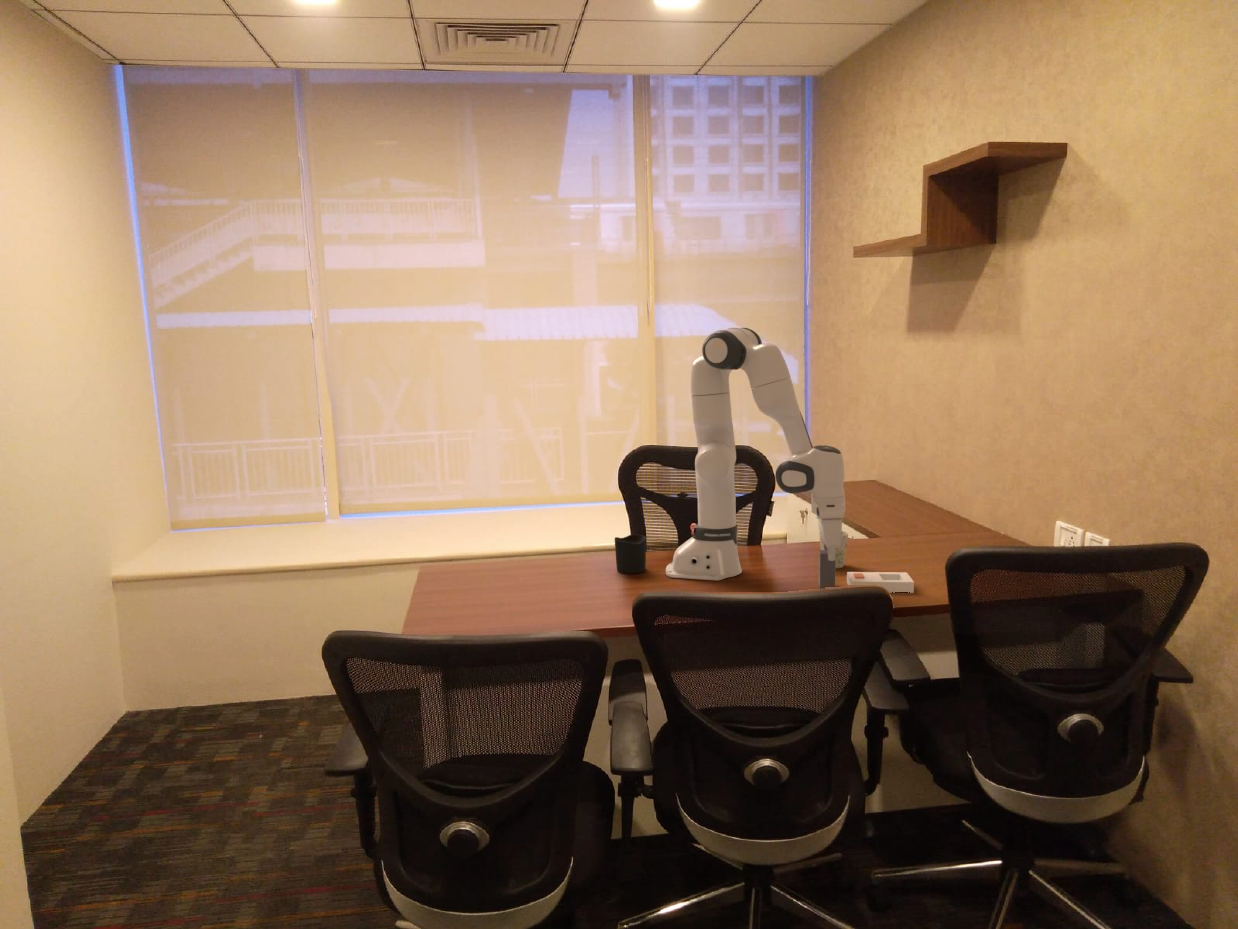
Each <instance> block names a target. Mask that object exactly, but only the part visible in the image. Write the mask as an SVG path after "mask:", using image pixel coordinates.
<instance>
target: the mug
mask: <svg viewBox="0 0 1238 929" xmlns="http://www.w3.org/2000/svg"><path fill="white" fill-rule="evenodd" d="M818 536H819V538H818V539H819V546H820V550H824V543H823V538H822V536H821V534H820V532H818ZM848 536H849V533H848V532H846V531H845V530H842V533H841V543H840V547H836V552H835V569H841V568H843V567H844V566H845V559H846V552H847V546H848V539H849V537H848Z"/></svg>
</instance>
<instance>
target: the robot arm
mask: <svg viewBox="0 0 1238 929" xmlns="http://www.w3.org/2000/svg"><path fill="white" fill-rule="evenodd" d="M702 344H703V345H702V348H701V349H702V350H701V352H702V355H700V356H698V357H697V358H696V359H694V360H693V363H692V365H691V373H690V395H691V408H692V417H693V418H692V420H693V425H694V430H695V438H696V443H697V454H696V455H695V460H694V469H695V471H694V473H695V483H696V484H695V485H696V495H697V496H696V497H697V523H694V522H693V523H691V525H690V527H689V528H690V531H691V532H690V534H691V537H689V539H688V540H686V541H684V542H683V543H682V544H680V546H678V548H676V550H675V551H674V553H673V558H672V562H670V563H669V564H667V565H666V568H665V574H666V576H668V577H669V578H675V579H690V580H705V581H721V580H724V579H726V578H733V577H736V576H738V575H740V574H742V573H743V570H742V567H741V563H740V558H739V553H738V552H739V551H738V541H739V530H738V524H737V522H736V521H737V519H736V518H737V516H736V515H737V514H736V513H737V511H736V507H737V506H736V505H737V502H736V487H735V486H736V484H735V465H736V461H737V450H736V440H735V434H734V426H733V425H734V424H733V420H732V419H733V417H732V403H731V402H732V401H731V394H730V393H731V391H730V382H729V380H730V379H729V378H730V374H731V372H732V371H733V370H734V371H736V370H739V369H741V370H742V371H744V372H745V374H746V376H747V379H748V381H749V385H750V389H751V393H752V396H753V397H752V398H753V400H754V402H755V404H756V406H757V408H758V410H759V412H761V413H762V414H763V415H765V416H767V417H769V418H771V419H772V420H774V421H775V422H776V423H778V425H779V426H780V427H781V429H782V432H783V435H784V437H785V440H786V444H787V446H788V449H789V452H790V458H788V459H786V460H784V461H782V462H781V463H780V464H779V465H778V466H777V468H776V471H775V474H774V477H775V481H776V485H777V486H778V487H779V488H780V489H781V490H782V491H783V492H785V493H788V494H799V493H805V492H809V493H810V498H811V500H810V501H811V502H810V504H811V513H812V514H814V515H816V519H817V520H818V531H819V533H820V534H821V536H822V538H823V543H824V550H828V560H829V561H834V560H835V552H836V547H840V543H841V533H842V531H843V528H842V527H843V519H844V518H845V513H846V493H845V489H844V483H845V479H846V478H845V477H846V476H845V464H844V463H845V462H844V458H843V455H842V451H841V450H839V449H838V448H837V447H835V446H829V445H821V444H820V445H815V446H814V445H813V443H812V442H811V439H810V435H809V432H808V429H807V426H806V423H805V420H804V418H803V415H802V412H801V410H800V406H799V404H798V400H797V397H796V393H795V388H794V385H793V381H792V378H791V375H790V370H789V368H788V366H787V363H786V360H785V358H784V356H783V353H782V351H781V350H780V348H779V347H778V346H777V345H776V344H774V343H768V342H766V343H763V342H762V339H761V337H760V335H759V334H758V333H757V332H755V331H754V330H753V329H751V328H748V327H729V328H726V329H721V330H719V329H718V330H716V331H713V332H712V333H710V334H709V335H708V336H707V337H706V338H705V340H704V341H703V343H702Z"/></svg>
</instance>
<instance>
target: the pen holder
mask: <svg viewBox="0 0 1238 929" xmlns="http://www.w3.org/2000/svg"><path fill="white" fill-rule="evenodd" d="M646 541H647V536H645V535H641V534H629V535H627V536H624V537H618V536H617V537H614V551H615V563H616V570H617V572H619V573H621V574H626V575H634V574H640V573H643V572H644V571H645V570H646V566H647V565H646V563H647V562H646V560H647V559H646V557H647V556H646V555H647V554H646V553H647V547H646V546H647V544H646V543H647V542H646Z"/></svg>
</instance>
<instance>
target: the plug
mask: <svg viewBox="0 0 1238 929" xmlns="http://www.w3.org/2000/svg"><path fill="white" fill-rule="evenodd" d="M817 582H818V587H819V589H820V588H825V587H835V588H836V568H835V560H834V561H829V560H828V550H821V549H818V581H817Z"/></svg>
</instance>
